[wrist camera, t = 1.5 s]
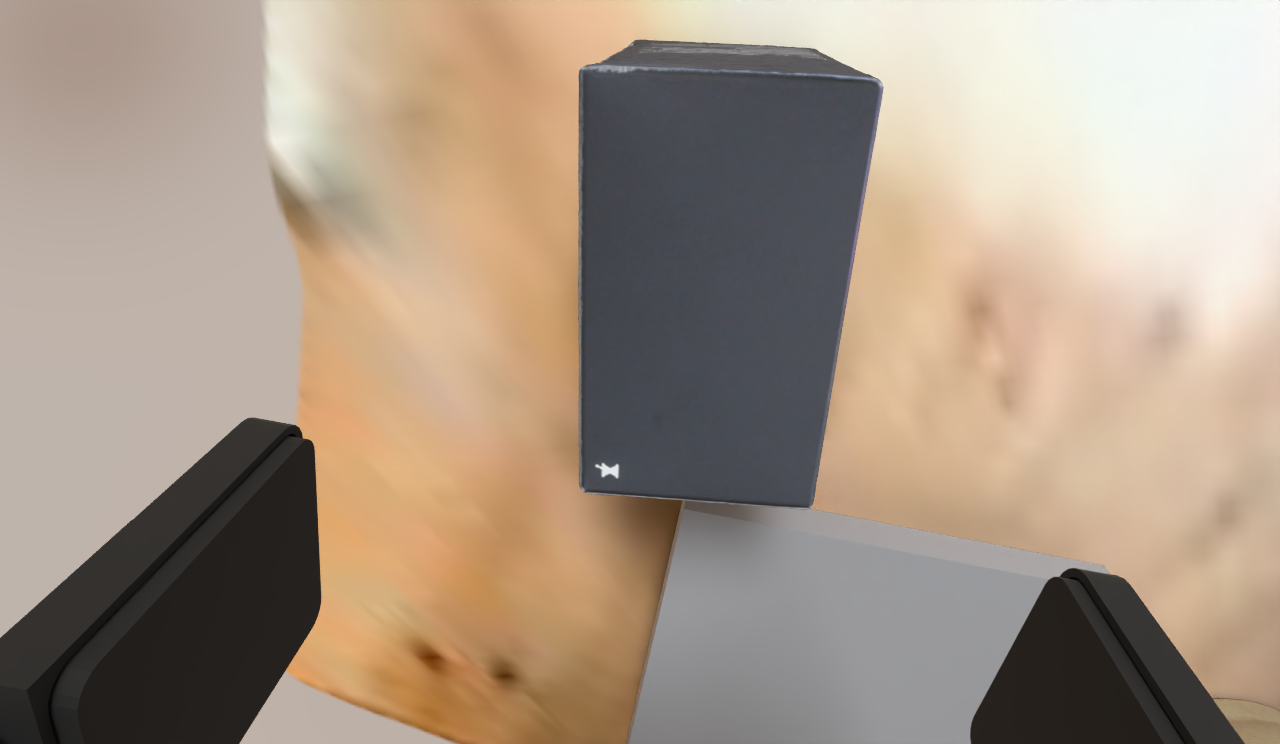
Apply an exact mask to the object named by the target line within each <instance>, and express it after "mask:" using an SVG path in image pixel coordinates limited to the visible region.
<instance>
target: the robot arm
mask: <svg viewBox="0 0 1280 744" xmlns="http://www.w3.org/2000/svg"><path fill="white" fill-rule="evenodd" d="M320 605H321V581H320V559H319V537H318V515H317V493H316V470H315V450H314V445H313V443H312V441H310V440H308V439H303V436H302V432H301V430H300V428H299V427H297V426H296V425H291V424H286V423H280V422H275V421H269V420H264V419H258V418H247V419H246V420H244V421H243V422H241V423H240V424H239V425H238V426H237V427H236V428H235V429H233V430H232V431H231V432H230V433H229V434H228V435H227V436H226V437H224V438H223V439H222V440H221V441H220V442H219V443H218V444H217V445H216V446H214V447H213V448H212V449H211V450H210V451H209V452H208V453H207V454H205V455H204V456H203V457H202V458H201V459H200V460H199V461H198V462H197V463H195V464H194V465H193V466H192V467H191V468H190V469H189V470H188V471H187V472H186V473H184V474H183V475H182V476H181V477H180V478H179V479H178V480H177V481H175V482H174V484H172V485H171V486H170V487H169V488H168V489H167V490H165V492H163V493H162V494H161V495H160V496H159V497H158V498H157V499H155V500H154V501H153V502H152V503H151V504H150V505H149V506H148V507H146V509H144V510H143V511H142V512H141V513H140V514H139V515H138V516H136V517H135V519H133V520H131V521H130V522H129V523H128V524H127V525H126V526H125V527H124V528H122V529H121V530H120V531H119V532H118V533H117V534H116V535H115V536H114V537H112V538H111V539H110V540H109V541H108V542H107V543H106V544H105V545H103V546H102V547H101V548H100V549H99V550H98V551H97V552H96V553H95V554H93V555H92V556H91V557H90V558H89V559H88V560H87V561H86V562H85V563H83V564H82V565H81V566H80V567H79V568H78V569H77V570H76V571H74V572H73V573H72V574H71V575H70V576H69V577H68V578H67V579H66V580H65V581H63V582H62V583H61V584H60V585H59V586H58V587H57V588H56V589H55V590H53V591H52V592H51V593H50V594H49V595H48V596H47V597H45V598H44V599H43V600H42V601H41V602H40V603H39V604H38V605H37V606H35V608H34V609H32V610H31V611H30V612H29V613H28V614H27V615H25V617H23V618H22V619H21V620H20V621H19V622H18V623H17V624H15V625H14V626H13V627H12V628H11V629H10V630H9V631H8V632H7V633H6V634H4V635H3V636H2V637H1V638H0V744H239V743H240V741H241V740H242V738H243V737H244V735H245V733H246V732H247V730H248V729H249V727H250V726H251V724H252V722H253V721H254V719H255V718H256V716H257V715H258V712H259V711H260V710H261V708H262V707H263V705H264V704H265V702H266V700H267V699H268V697H269V696H270V694H271V692H272V691H273V689H274V688H275V686H276V685H277V683H278V681H279V679H280V678H281V677H282V675H283V674H284V672H285V670H286V669H287V667H288V666H289V664H290V662H291V661H292V659H293V658H294V656H295V655H296V653H297V651H298V650H299V648H300V647H301V645H302V644H303V642H304V640H305V639H306V637H307V636H308V634H309V633H310V631H311V629H312V627H313V626H314V624H315V621H316V619H317V617H318V613H319V610H320ZM970 740H971V744H1245V743H1244V742H1243V740H1242V739H1241V738H1240V736H1239V735H1238V733H1237V732H1236V731H1235V729H1234V728H1233V726H1232V725H1231V724H1230V722H1229V721H1228V720H1227V718H1226V717H1225V715H1224V714H1223V713H1222V711H1221V710H1220V708H1219V707H1218V706H1217V704H1216V703H1215V702H1214V700H1213V699H1212V697H1211V696H1210V695H1209V693H1208V692H1207V690H1206V689H1205V688H1204V686H1203V685H1202V684H1201V682H1200V681H1199V679H1198V678H1197V677H1196V675H1195V674H1194V672H1193V671H1192V670H1191V668H1190V667H1189V666H1188V664H1187V663H1186V661H1185V660H1184V659H1183V657H1182V656H1181V654H1180V653H1179V652H1178V650H1177V649H1176V648H1175V646H1174V645H1173V643H1172V642H1171V641H1170V639H1169V638H1168V636H1167V635H1166V634H1165V632H1164V631H1163V630H1162V628H1161V627H1160V625H1159V624H1158V623H1157V621H1156V620H1155V618H1154V617H1153V616H1152V614H1151V613H1150V612H1149V610H1148V609H1147V607H1146V606H1145V605H1144V603H1143V602H1142V600H1141V599H1140V598H1139V596H1138V595H1137V594H1136V592H1135V591H1134V589H1133V588H1132V587H1131V585H1130V584H1129V583H1128V582H1127V581H1126V580H1125V579H1124V578H1121V577H1119V576H1116V575H1110V574H1105V573H1099V572H1094V571H1089V570H1083V569H1078V568H1070V569H1067V570H1066V571H1064V572H1063V573H1062V574H1061V575H1060V577H1052V578H1051V579H1049V580H1048V581H1047V583H1046V584H1045V585H1044V587H1043V589H1042V591H1041V593H1040V595H1039V597H1038V598H1037V600H1036V602H1035V604H1034V606H1033V608H1032V610H1031V611H1030V613H1029V615H1028V617H1027V619H1026V621H1025V622H1024V624H1023V626H1022V628H1021V630H1020V632H1019V634H1018V635H1017V637H1016V639H1015V641H1014V643H1013V645H1012V647H1011V648H1010V650H1009V652H1008V654H1007V656H1006V658H1005V659H1004V661H1003V663H1002V665H1001V667H1000V669H999V671H998V672H997V674H996V676H995V678H994V680H993V682H992V684H991V685H990V687H989V689H988V691H987V693H986V695H985V697H984V698H983V700H982V702H981V704H980V706H979V708H978V709H977V711H976V713H975V715H974V717H973V720H972V723H971V728H970Z"/></svg>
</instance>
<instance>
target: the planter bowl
mask: <svg viewBox="0 0 1280 744" xmlns="http://www.w3.org/2000/svg"><path fill="white" fill-rule="evenodd" d="M1213 700H1214V702H1215V703H1216V704H1217V706H1218V707H1219V708H1220V710H1221V711H1222V713H1223V714H1224V715H1225V717H1226V718H1227V720H1228V721H1229V722H1230V724H1231V725H1232V726H1233V728H1234V729H1235V731H1236V732H1237V733H1238V735H1239V736H1240V738H1241V739H1242V740H1243V742H1244V743H1245V744H1280V711H1278V710H1276V709H1274V708H1271V707H1268V706H1265V705H1262V704H1259V703H1254V702H1250V701H1244V700H1235V699H1213Z"/></svg>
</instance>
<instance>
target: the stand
mask: <svg viewBox="0 0 1280 744" xmlns="http://www.w3.org/2000/svg"><path fill="white" fill-rule="evenodd" d="M1070 568H1078V569H1083V570H1089V571H1094V572H1099V573H1105V574H1109V572H1108V571H1107V569H1106V568H1105V566H1104V565H1099V564H1093V563H1088V562H1083V561H1078V560H1073V559H1068V558H1062V557H1057V556H1052V555H1047V554H1042V553H1036V552H1031V551H1026V550H1021V549H1016V548H1011V547H1005V546H1000V545H995V544H990V543H985V542H980V541H974V540H969V539H964V538H959V537H954V536H948V535H943V534H938V533H933V532H928V531H923V530H917V529H912V528H907V527H902V526H897V525H892V524H886V523H881V522H876V521H871V520H866V519H861V518H855V517H850V516H845V515H840V514H835V513H829V512H824V511H819V510H814V509H806V510H801V509H790V508H774V507H761V506H746V505H733V504H722V503H707V502H697V501H683V500H682V505H681V509H680V513H679V518H678V522H677V526H676V530H675V535H674V539H673V543H672V548H671V552H670V556H669V561H668V565H667V569H666V573H665V578H664V582H663V586H662V591H661V595H660V599H659V604H658V608H657V612H656V616H655V621H654V625H653V629H652V634H651V638H650V642H649V646H648V651H647V655H646V659H645V664H644V668H643V672H642V677H641V681H640V685H639V689H638V694H637V698H636V702H635V707H634V711H633V715H632V719H631V724H630V728H629V732H628V737H627V741H626V744H971V740H970V728H971V723H972V720H973V717H974V715H975V713H976V711H977V709H978V708H979V706H980V704H981V702H982V700H983V698H984V697H985V695H986V693H987V691H988V689H989V687H990V685H991V684H992V682H993V680H994V678H995V676H996V674H997V672H998V671H999V669H1000V667H1001V665H1002V663H1003V661H1004V659H1005V658H1006V656H1007V654H1008V652H1009V650H1010V648H1011V647H1012V645H1013V643H1014V641H1015V639H1016V637H1017V635H1018V634H1019V632H1020V630H1021V628H1022V626H1023V624H1024V622H1025V621H1026V619H1027V617H1028V615H1029V613H1030V611H1031V610H1032V608H1033V606H1034V604H1035V602H1036V600H1037V598H1038V597H1039V595H1040V593H1041V591H1042V589H1043V587H1044V585H1045V584H1046V583H1047V581H1048V580H1049V579H1051V578H1052V577H1060V575H1061V574H1062V573H1063V572H1064V571H1066V570H1067V569H1070Z"/></svg>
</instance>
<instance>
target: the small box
mask: <svg viewBox="0 0 1280 744" xmlns="http://www.w3.org/2000/svg"><path fill="white" fill-rule="evenodd" d="M882 94H883V85H882V82H881V81H880V80H879V79H877V78H875V77H873V76H871V75H868V74H864V73H862V72H860V71H857V70H855V69H853V68H851V67H849V66H847V65H844V64H842V63H840V62H838V61H836V60H835V59H833V58H831V57H828V56H827V55H824V54H822V53H820V52H819V51H818V50H816V49H811V48H795V47H777V46H768V45H765V46H760V45H742V44H720V43H695V42H679V41H652V40H635V41H634V42H633V43H631V44H630V45H629V46H628V47H627V48H625V49H623V50H622V51H620V52H618V53H616V54H614V55H612V56H610V57H609V58H607V59H606V60H603V61H602V62H601V63H596V64H591V65H586V66H584V67H582V68H581V69H580V71H579V281H578V291H579V317H578V319H579V486H580V488H581V490H582V491H583V492H585V493H587V494H598V495H615V496H630V497H645V498H655V499H672V500H683V501H697V502H707V503H722V504H733V505H746V506H761V507H774V508H790V509H801V510H806V509H809V508H811V506H812V504H813V501H814V495H815V489H816V481H817V477H818V471H819V465H820V458H821V452H822V446H823V440H824V434H825V428H826V422H827V416H828V410H829V404H830V398H831V392H832V386H833V380H834V374H835V368H836V362H837V356H838V350H839V344H840V338H841V332H842V326H843V320H844V314H845V308H846V302H847V297H848V291H849V285H850V279H851V273H852V267H853V262H854V256H855V250H856V244H857V238H858V232H859V226H860V221H861V215H862V209H863V203H864V198H865V192H866V186H867V181H868V175H869V169H870V163H871V158H872V152H873V146H874V141H875V136H876V130H877V123H878V117H879V111H880V106H881V100H882Z"/></svg>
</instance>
